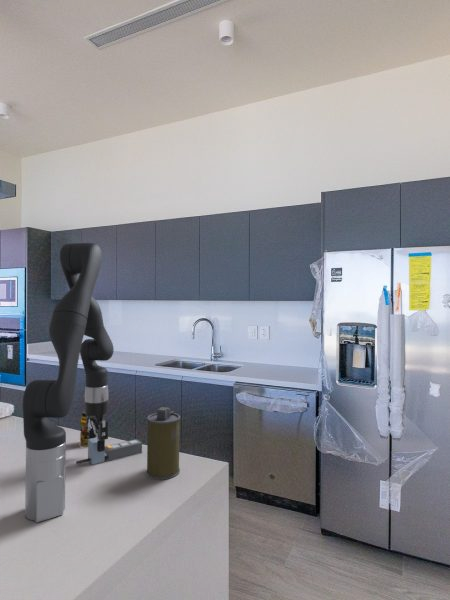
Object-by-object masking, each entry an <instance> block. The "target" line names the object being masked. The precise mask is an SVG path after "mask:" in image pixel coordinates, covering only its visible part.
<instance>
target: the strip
mask: <svg viewBox="0 0 450 600" xmlns="http://www.w3.org/2000/svg"><path fill="white" fill-rule="evenodd" d="M105 453H106V454H107V456H104V459H105V460H107V461H108V462H111V461H115V460H119V459H123V458H127V457H131V456H135V455H139V454H143V442H141V441H140V440H139V439H131V440H126V441H123V442H117V443H114V444H113V443H112V444H109V445H105Z"/></svg>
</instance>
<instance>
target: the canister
mask: <svg viewBox="0 0 450 600" xmlns="http://www.w3.org/2000/svg"><path fill="white" fill-rule="evenodd" d="M180 419H181V416H180V414H178V413H176V411H171V407H165V406H164V407H163V406H161V407H160V408H158V409H157V410H156V412H155V413H151V414H149V415H148V416H147V417H146V420H147V439H146V440H147V441H146V442H147V444H146V445H147V446H146V447H147V449H146V451H147V452H146V455H147V456H146V460H147V463H146V464H147V465H146V472H145V473H146V476H148V477H149V478H151V479H154V480H167V479H172V478H174V477H176V476H178V475H179V474H180V471H181V470H180V422H181V421H180Z"/></svg>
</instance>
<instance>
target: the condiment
mask: <svg viewBox="0 0 450 600" xmlns="http://www.w3.org/2000/svg"><path fill="white" fill-rule="evenodd" d="M96 437H97V436H96ZM88 439H89V432H88V429H86V414H85V410H84V411H82V412H81V419H80V438H79V439H78V440H76V442H77V444H78V446H79V447H80V449H83V448H84V449H85V448H88Z"/></svg>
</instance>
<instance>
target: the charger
mask: <svg viewBox="0 0 450 600" xmlns="http://www.w3.org/2000/svg"><path fill="white" fill-rule="evenodd" d="M104 456H107V454H106V453H105V450H104V451H102V452H98V451H97V437H96V438H91V439H88V447H87V458H84V459H80V460H77V461H75V464H76V465H78V464H83V463H88V462H89V463H90V464H91V465H97V464H100V463H101V464H102V463H104V462H105V457H104Z"/></svg>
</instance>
